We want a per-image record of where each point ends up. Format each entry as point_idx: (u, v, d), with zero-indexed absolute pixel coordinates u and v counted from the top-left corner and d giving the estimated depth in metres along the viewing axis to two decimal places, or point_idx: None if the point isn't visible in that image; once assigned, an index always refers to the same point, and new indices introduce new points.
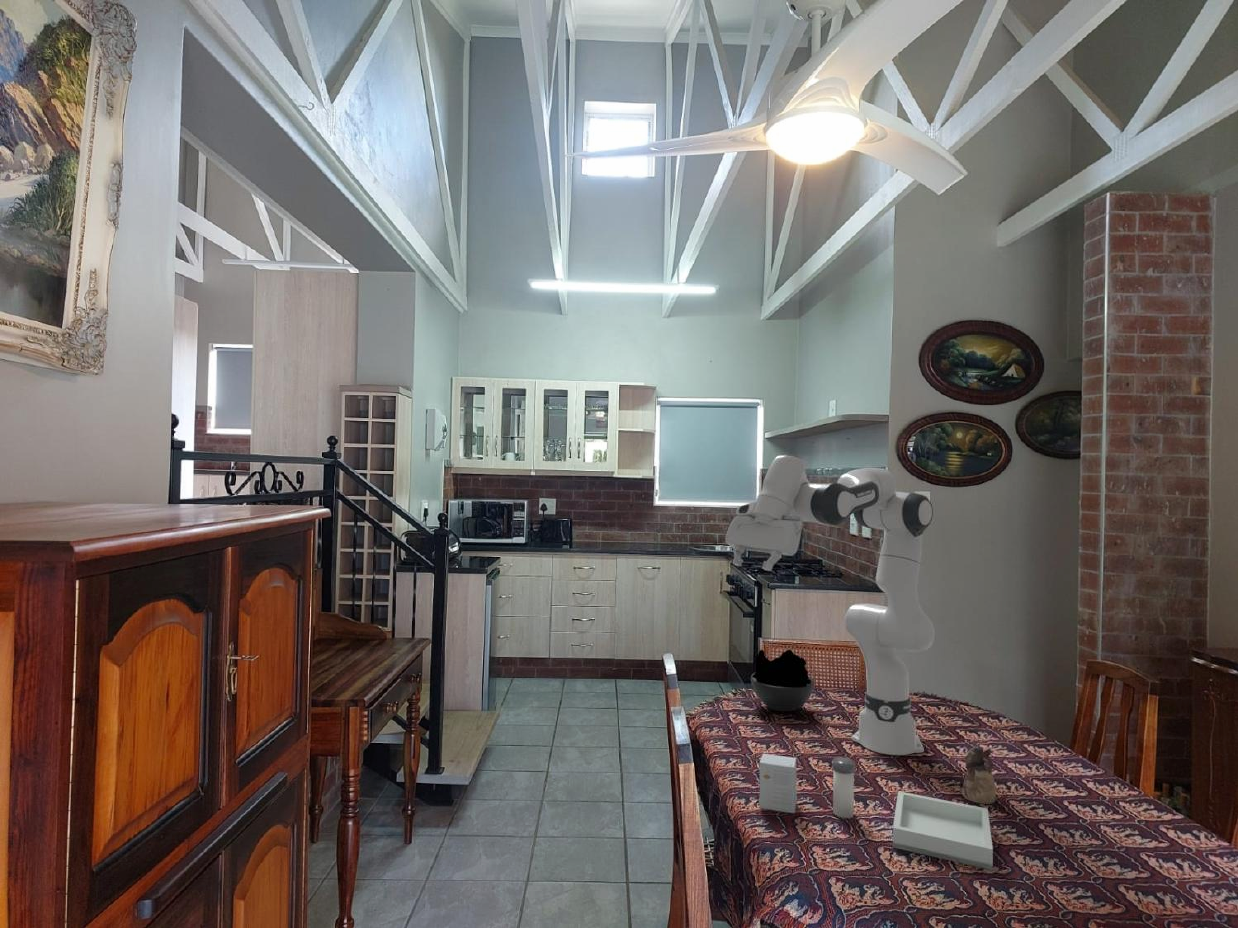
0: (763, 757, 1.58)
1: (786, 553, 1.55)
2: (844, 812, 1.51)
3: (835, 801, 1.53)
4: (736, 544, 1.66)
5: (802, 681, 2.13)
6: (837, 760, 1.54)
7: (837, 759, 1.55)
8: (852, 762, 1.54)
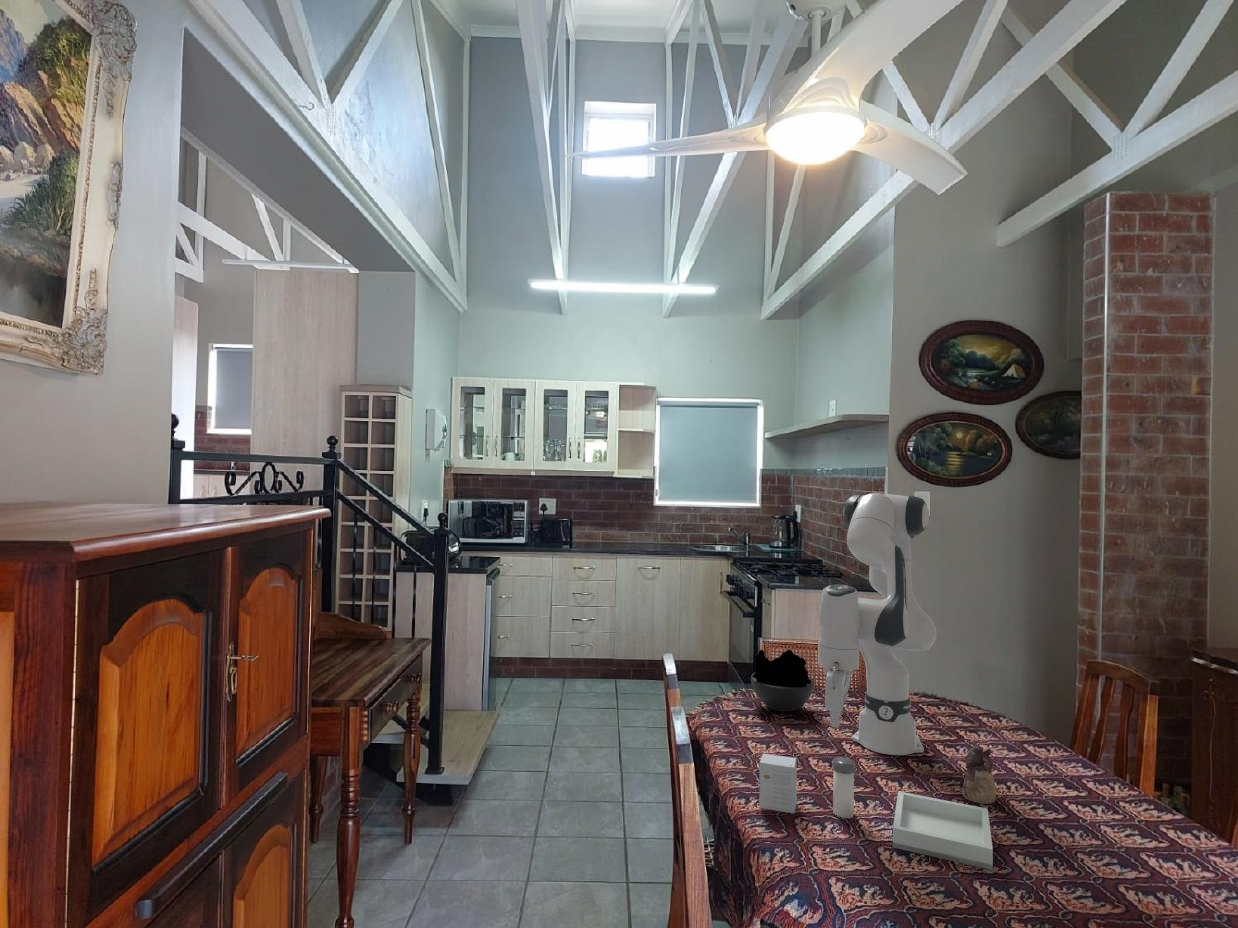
0: (763, 757, 1.58)
1: None
2: (844, 812, 1.51)
3: (835, 801, 1.53)
4: None
5: (802, 681, 2.13)
6: (837, 760, 1.54)
7: (837, 759, 1.55)
8: (852, 762, 1.54)
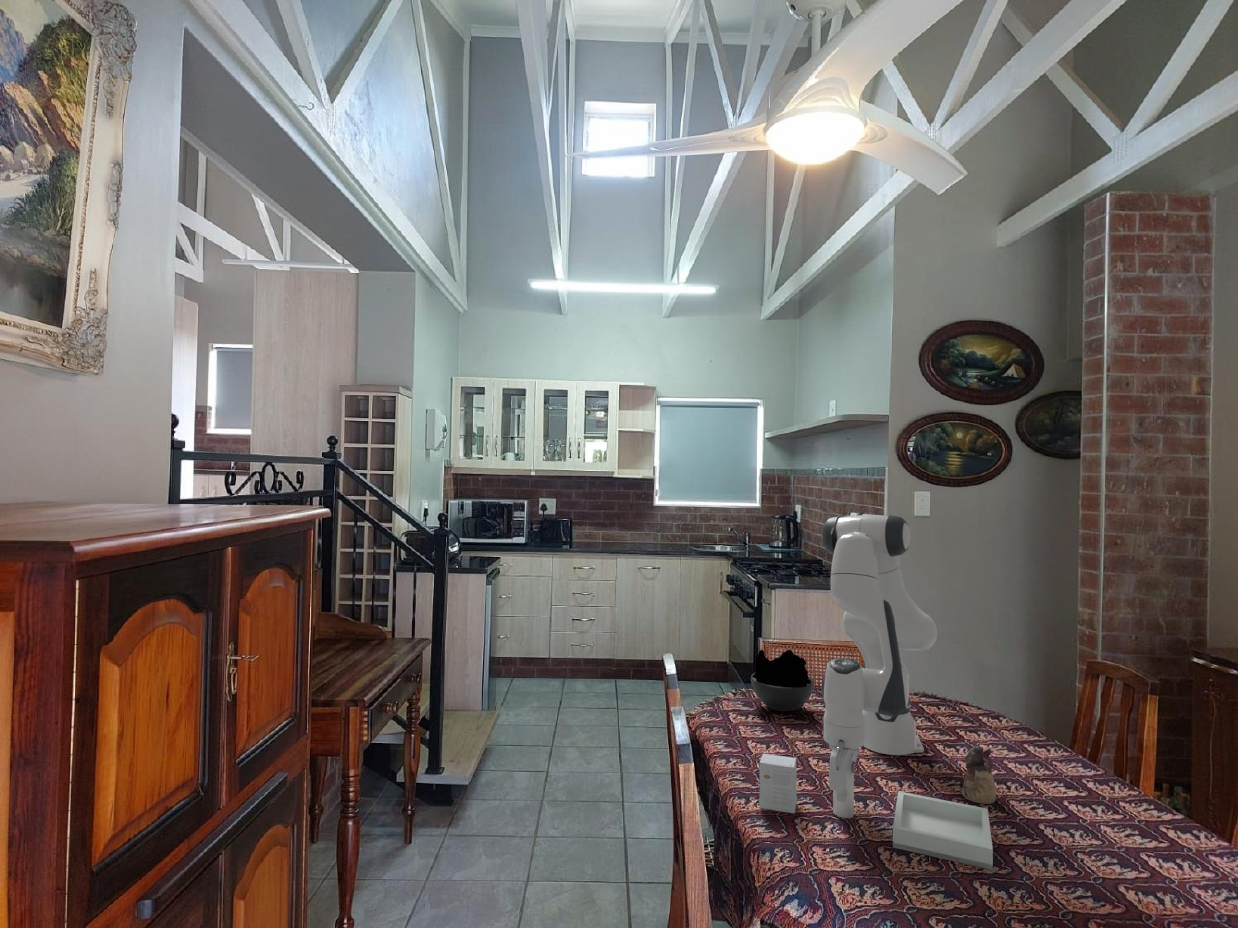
0: (763, 757, 1.58)
1: None
2: (844, 812, 1.51)
3: (836, 801, 1.53)
4: None
5: (802, 681, 2.13)
6: None
7: None
8: (852, 762, 1.54)
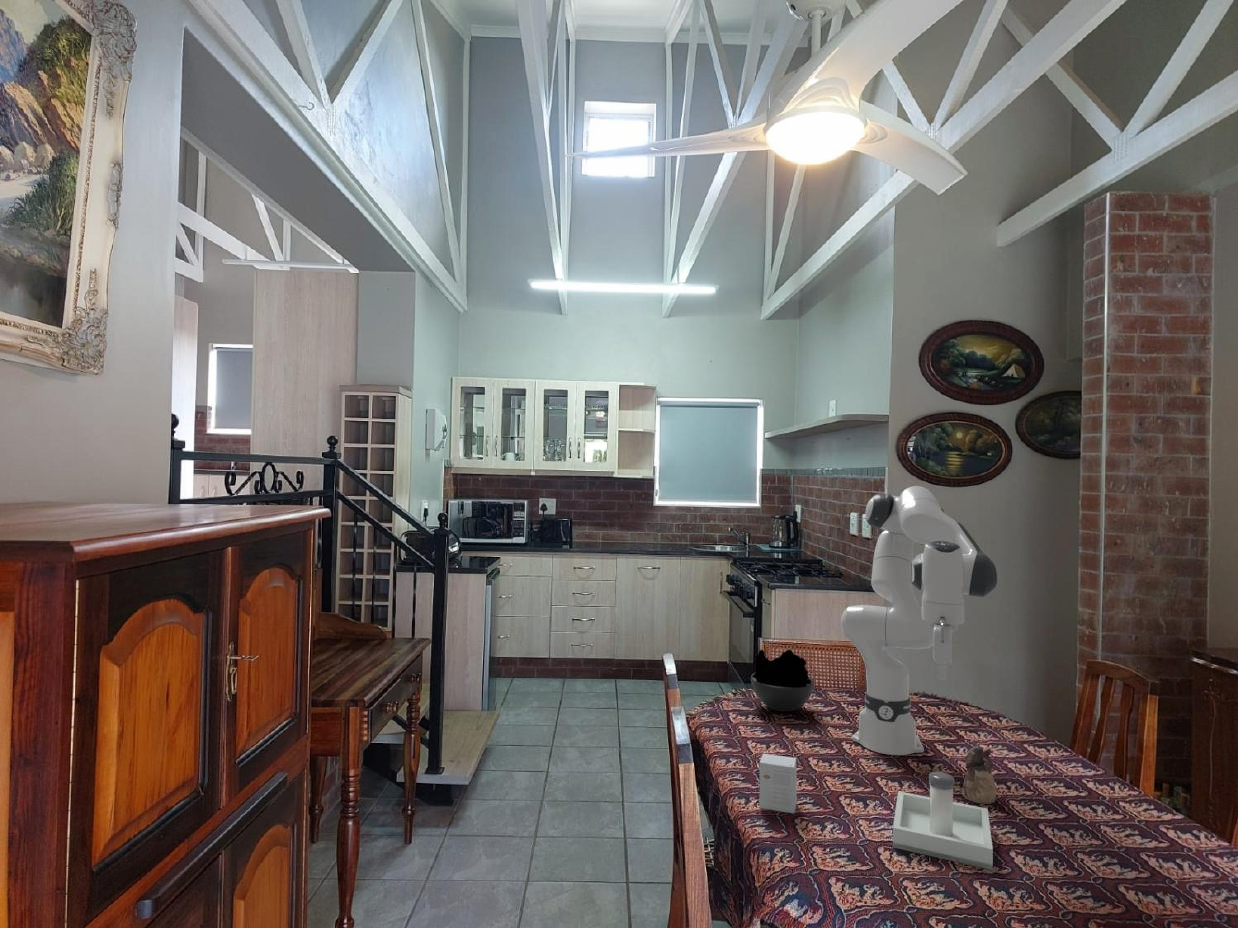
0: (763, 757, 1.58)
1: None
2: (944, 830, 1.42)
3: (933, 819, 1.43)
4: None
5: (802, 681, 2.13)
6: (934, 774, 1.45)
7: (934, 773, 1.46)
8: (950, 777, 1.44)
